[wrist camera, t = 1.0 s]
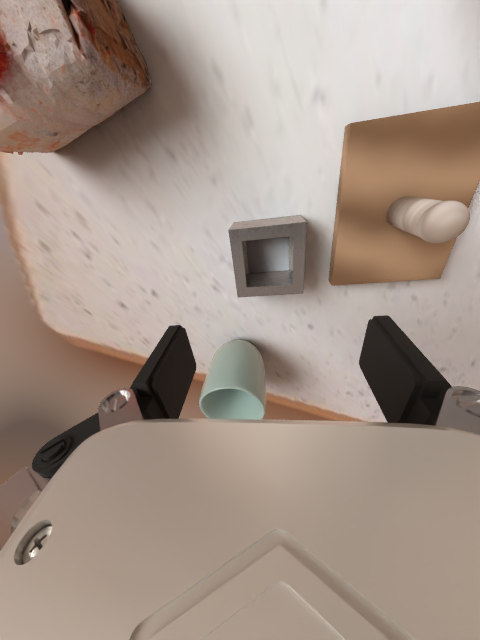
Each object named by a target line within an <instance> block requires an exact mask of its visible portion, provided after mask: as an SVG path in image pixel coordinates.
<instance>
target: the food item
mask: <svg viewBox="0 0 480 640" xmlns="http://www.w3.org/2000/svg"><path fill="white" fill-rule="evenodd" d="M150 85H152V83H151V80H150V77H149V74H148V71H147V69H146V63H145V60H144V58H143V56H142V54H141V52H140V51H139V49H138V47H137V45H136V43H135V41H134V39H133V36H132V34H131V32H130V29H129V27H128V24H127V22H126V20H125V17H124V15H123V13H122V11H121V9H120V6H119V4H118V2H117V1H116V0H0V152H6V153H12V154H13V152H14V151H15V152H18V154H19V155H22V153H23V152H32V153H33V152H41V153H48V152H53V151H55V150H58V149H60V148H62V147H64V146H66V145H68V144H69V143H71V142H72V141H73V140H74V139H76V138H78V137H79V136H80V135H82V134H83V133H85V132H86V131H88V130H89V129H90V128H92V127H93V126H95V125H98V124H99V123H101V122H103V121H104V120H106V119H108V118H109V117H111V116H112V115H113V114H115V113H116V112H117V111H118V110H120V109H121V108H123V107H124V106H126V105H127V104H129V103H130V102H132V101H133V100H134V99H136V98H137V97H139V96H140V95H142V94H143V93H145V92H146V90H147V89H149V88H150Z"/></svg>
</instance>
